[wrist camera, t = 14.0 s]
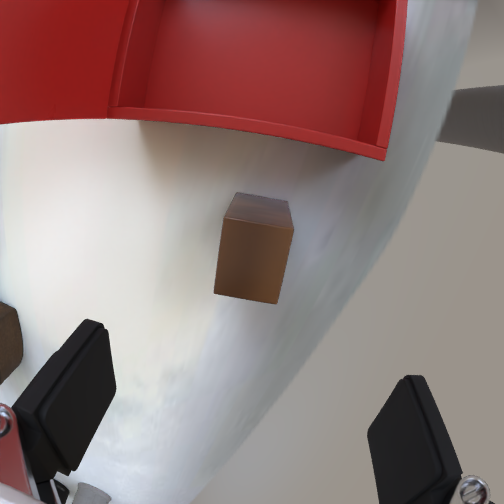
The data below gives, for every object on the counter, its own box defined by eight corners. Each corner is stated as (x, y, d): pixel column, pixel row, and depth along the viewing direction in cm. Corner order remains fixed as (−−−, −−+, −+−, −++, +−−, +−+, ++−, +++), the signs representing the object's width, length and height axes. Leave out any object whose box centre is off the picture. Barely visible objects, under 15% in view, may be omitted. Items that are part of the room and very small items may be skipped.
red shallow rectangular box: (384, 1, 17) (409, -22, 12) (361, 154, 22) (385, 161, 17) (168, -29, 17) (147, -57, 12) (137, 119, 22) (105, 118, 17)
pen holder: (75, 496, 56) (64, 522, 46) (49, 484, 56) (37, 509, 47) (63, 482, 52) (50, 510, 43) (35, 469, 52) (22, 495, 43)
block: (287, 201, 24) (294, 228, 18) (275, 260, 26) (277, 305, 20) (236, 192, 24) (223, 216, 18) (227, 252, 26) (213, 294, 20)
